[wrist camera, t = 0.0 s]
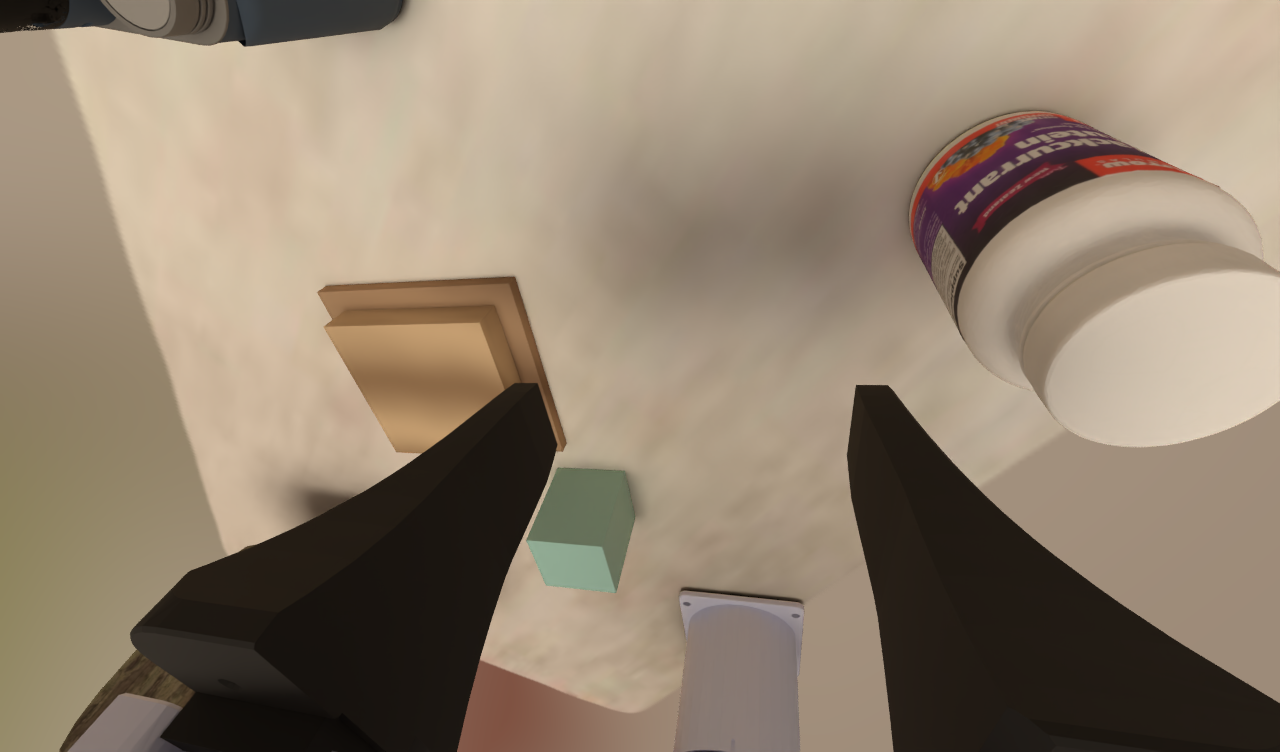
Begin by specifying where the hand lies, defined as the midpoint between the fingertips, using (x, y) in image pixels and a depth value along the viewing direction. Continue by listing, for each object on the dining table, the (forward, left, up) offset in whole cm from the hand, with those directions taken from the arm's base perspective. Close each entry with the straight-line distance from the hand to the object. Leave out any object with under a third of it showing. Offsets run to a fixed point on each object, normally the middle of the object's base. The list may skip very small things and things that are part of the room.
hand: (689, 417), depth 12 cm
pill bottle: (+1, -9, -10) cm, 14 cm away
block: (-15, +8, -10) cm, 20 cm away
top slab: (-6, +14, -10) cm, 18 cm away
